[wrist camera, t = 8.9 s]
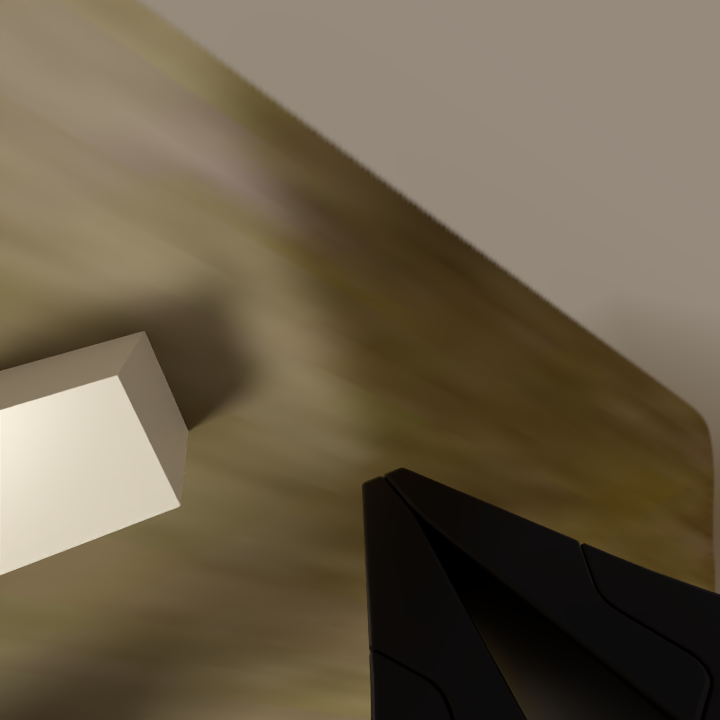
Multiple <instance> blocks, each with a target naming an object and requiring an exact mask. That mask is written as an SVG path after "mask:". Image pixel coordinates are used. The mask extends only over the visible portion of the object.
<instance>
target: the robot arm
mask: <svg viewBox="0 0 720 720" xmlns="http://www.w3.org/2000/svg"><path fill="white" fill-rule="evenodd" d="M362 499H363V521H364V543H365V565H366V588H367V610H368V632H369V650H370V655H369V661H370V683H371V720H720V594H717V593H714V592H711V591H708V590H706V589H703V588H700V587H697V586H694V585H691V584H688V583H686V582H683V581H680V580H677V579H674V578H671V577H669V576H666V575H663V574H660V573H657V572H655V571H652V570H649V569H647V568H644V567H642V566H639V565H637V564H634V563H632V562H629V561H627V560H624V559H621V558H619V557H616V556H614V555H611V554H609V553H606V552H604V551H602V550H599V549H597V548H595V547H592V546H590V545H587V544H585V543H583V544H582V545H580V543H579V541H577V540H575V539H573V538H570V537H568V536H565V535H563V534H561V533H558V532H556V531H553V530H551V529H549V528H546V527H544V526H542V525H539V524H537V523H534V522H532V521H530V520H527V519H525V518H522V517H520V516H518V515H515V514H513V513H511V512H508V511H506V510H503V509H501V508H499V507H496V506H494V505H491V504H489V503H487V502H484V501H482V500H480V499H477V498H475V497H472V496H470V495H468V494H465V493H463V492H460V491H458V490H456V489H453V488H451V487H448V486H446V485H444V484H441V483H439V482H437V481H434V480H432V479H429V478H427V477H425V476H422V475H420V474H417V473H415V472H413V471H410V470H408V469H405V468H399V469H396V470H394V471H391V472H389V473H386V474H385V475H384V477H376V478H374V479H371V480H369V481H366V482H364V483H363V484H362Z"/></svg>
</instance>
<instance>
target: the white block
mask: <svg viewBox="0 0 720 720" xmlns="http://www.w3.org/2000/svg"><path fill="white" fill-rule="evenodd" d="M187 440H188V429H187V427H186V425H185V422H184V420H183V418H182V415H181V413H180V411H179V408H178V406H177V404H176V402H175V399H174V397H173V395H172V392H171V390H170V388H169V385H168V383H167V381H166V379H165V376H164V374H163V372H162V369H161V367H160V365H159V362H158V360H157V358H156V356H155V353H154V351H153V349H152V346H151V344H150V342H149V339H148V337H147V335H146V333H145V331H142V332H138V333H135V334H131V335H128V336H124V337H120V338H117V339H113V340H110V341H106V342H102V343H99V344H95V345H92V346H88V347H84V348H81V349H77V350H74V351H70V352H66V353H63V354H59V355H56V356H52V357H48V358H45V359H41V360H38V361H34V362H30V363H27V364H23V365H20V366H16V367H12V368H9V369H5V370H2V371H0V575H2V574H4V573H7V572H10V571H12V570H15V569H18V568H20V567H23V566H25V565H28V564H31V563H33V562H36V561H38V560H41V559H44V558H46V557H49V556H51V555H54V554H57V553H59V552H62V551H65V550H67V549H70V548H72V547H75V546H78V545H80V544H83V543H85V542H88V541H91V540H93V539H96V538H98V537H101V536H104V535H106V534H109V533H112V532H114V531H117V530H119V529H122V528H125V527H127V526H130V525H132V524H135V523H138V522H140V521H143V520H146V519H148V518H151V517H153V516H156V515H159V514H161V513H164V512H166V511H169V510H172V509H174V508H177V507H179V506H181V497H182V488H183V478H184V469H185V459H186V450H187Z"/></svg>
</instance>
